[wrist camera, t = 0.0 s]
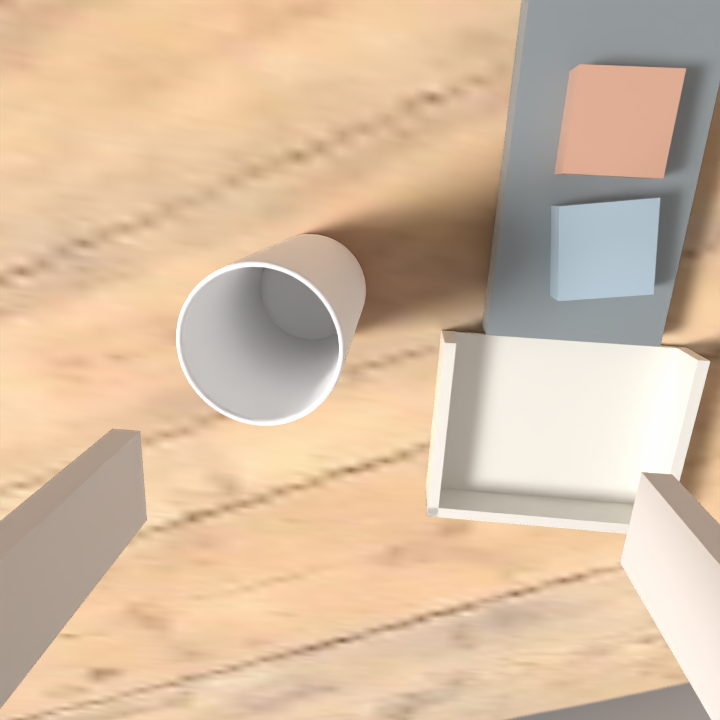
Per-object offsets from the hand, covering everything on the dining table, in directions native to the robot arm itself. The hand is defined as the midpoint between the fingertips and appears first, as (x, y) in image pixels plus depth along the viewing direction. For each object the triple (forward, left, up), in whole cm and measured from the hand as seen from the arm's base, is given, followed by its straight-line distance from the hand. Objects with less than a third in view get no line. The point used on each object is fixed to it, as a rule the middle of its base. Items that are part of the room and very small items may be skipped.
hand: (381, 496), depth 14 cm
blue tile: (-5, +13, -26) cm, 29 cm away
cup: (0, -6, -28) cm, 29 cm away
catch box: (+9, +13, -28) cm, 32 cm away
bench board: (-9, +13, -28) cm, 32 cm away
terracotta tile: (-12, +13, -26) cm, 31 cm away
